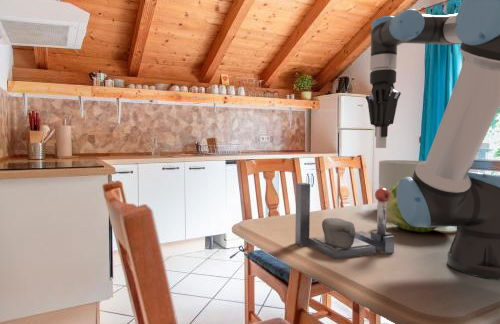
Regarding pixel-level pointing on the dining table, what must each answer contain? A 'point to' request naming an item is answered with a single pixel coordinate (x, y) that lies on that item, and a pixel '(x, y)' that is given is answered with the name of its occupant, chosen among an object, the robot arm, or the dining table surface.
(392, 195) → the lettuce
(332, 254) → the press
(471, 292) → the dining table surface
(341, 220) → the stone
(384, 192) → the lever
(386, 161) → the planter
